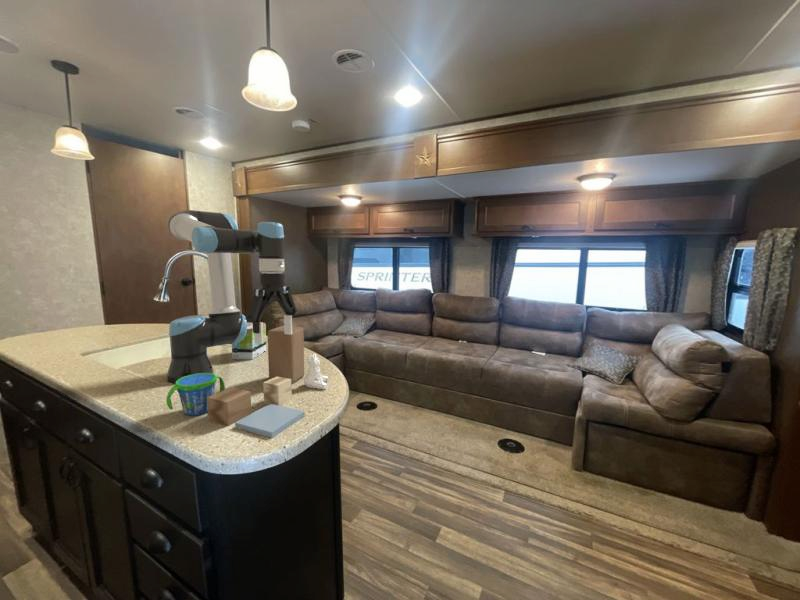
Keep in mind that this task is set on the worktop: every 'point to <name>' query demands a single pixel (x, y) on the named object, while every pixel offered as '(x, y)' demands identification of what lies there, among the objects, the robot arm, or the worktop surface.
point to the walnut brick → (229, 406)
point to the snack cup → (195, 392)
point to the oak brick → (277, 391)
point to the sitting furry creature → (315, 374)
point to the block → (286, 353)
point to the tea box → (249, 345)
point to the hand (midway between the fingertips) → (274, 338)
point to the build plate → (270, 420)
